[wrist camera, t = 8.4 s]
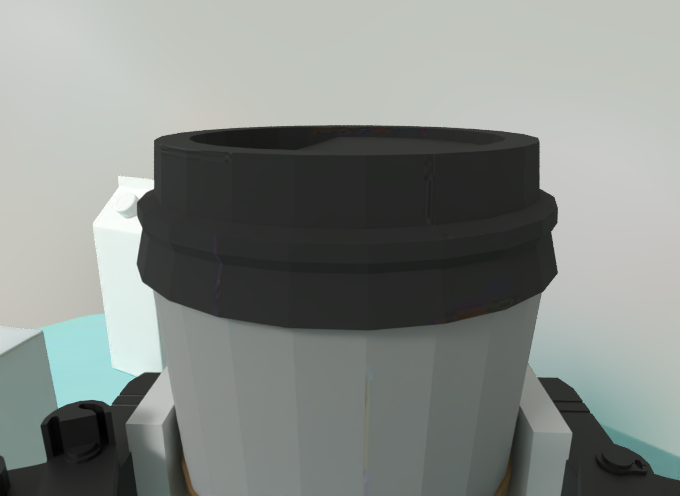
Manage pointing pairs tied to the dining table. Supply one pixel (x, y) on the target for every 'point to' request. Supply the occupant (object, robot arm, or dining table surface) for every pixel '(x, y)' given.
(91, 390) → the dining table surface
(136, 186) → the milk carton
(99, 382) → the dining table surface
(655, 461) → the dining table surface
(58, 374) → the dining table surface
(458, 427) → the coffee cup
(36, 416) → the supplement box
